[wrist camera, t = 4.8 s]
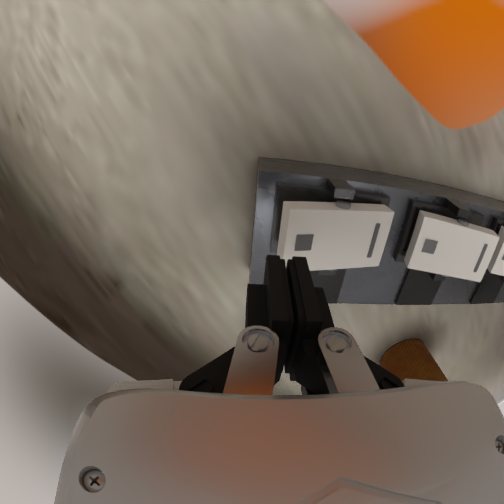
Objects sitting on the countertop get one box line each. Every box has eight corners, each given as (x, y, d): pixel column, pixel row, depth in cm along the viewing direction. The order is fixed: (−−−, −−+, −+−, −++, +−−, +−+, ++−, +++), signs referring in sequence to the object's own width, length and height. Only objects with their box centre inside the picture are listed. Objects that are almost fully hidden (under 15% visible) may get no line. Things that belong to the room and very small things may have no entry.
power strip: (541, 214, 22) (571, 238, 17) (513, 282, 27) (537, 310, 22) (258, 157, 21) (258, 180, 16) (249, 269, 26) (247, 315, 21)
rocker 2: (494, 227, 17) (501, 235, 16) (474, 276, 19) (479, 285, 18) (420, 207, 18) (425, 214, 17) (403, 261, 20) (406, 270, 19)
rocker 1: (385, 201, 18) (396, 209, 17) (369, 259, 20) (378, 269, 19) (283, 197, 16) (290, 206, 15) (275, 264, 19) (280, 276, 18)
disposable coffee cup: (361, 349, 32) (386, 437, 22) (433, 317, 30) (474, 397, 19) (375, 385, 36) (394, 458, 26) (435, 359, 34) (463, 427, 24)
